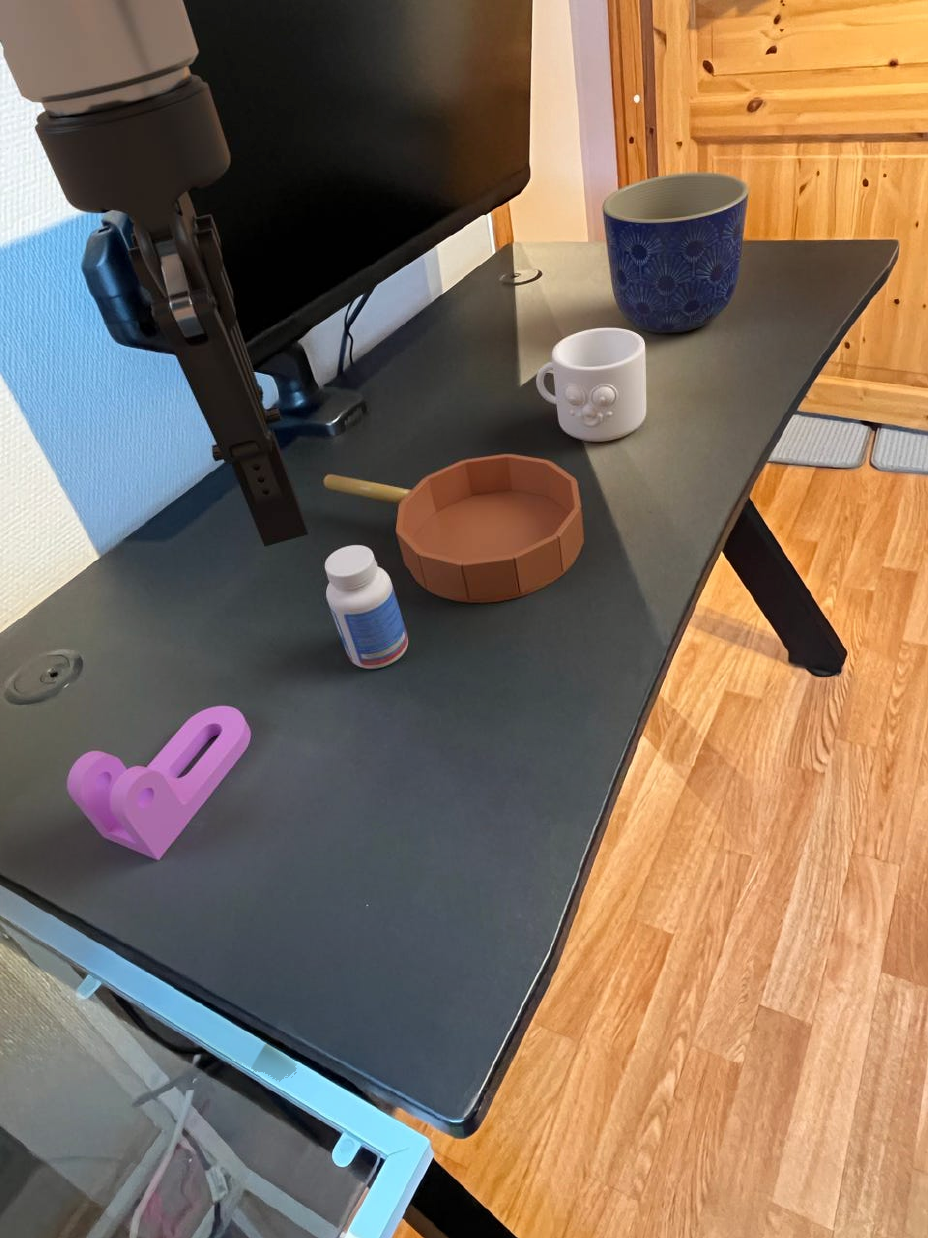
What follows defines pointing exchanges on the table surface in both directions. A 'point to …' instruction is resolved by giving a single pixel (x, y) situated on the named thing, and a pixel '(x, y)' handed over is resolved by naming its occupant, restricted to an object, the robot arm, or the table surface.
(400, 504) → the pan
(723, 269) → the planter
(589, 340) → the mug
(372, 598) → the pill bottle
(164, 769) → the bracket
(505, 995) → the table surface
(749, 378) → the table surface
